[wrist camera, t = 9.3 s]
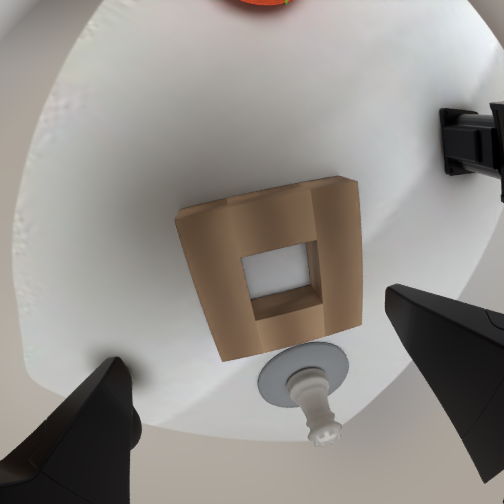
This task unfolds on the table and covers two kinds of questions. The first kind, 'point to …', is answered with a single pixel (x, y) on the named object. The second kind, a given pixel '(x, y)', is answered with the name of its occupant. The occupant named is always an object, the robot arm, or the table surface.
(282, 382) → the coaster
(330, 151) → the table surface
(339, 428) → the rook chess piece
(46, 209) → the table surface
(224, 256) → the pocket block
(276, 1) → the clementine
